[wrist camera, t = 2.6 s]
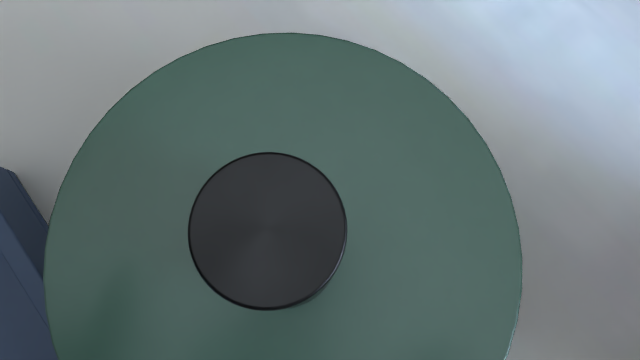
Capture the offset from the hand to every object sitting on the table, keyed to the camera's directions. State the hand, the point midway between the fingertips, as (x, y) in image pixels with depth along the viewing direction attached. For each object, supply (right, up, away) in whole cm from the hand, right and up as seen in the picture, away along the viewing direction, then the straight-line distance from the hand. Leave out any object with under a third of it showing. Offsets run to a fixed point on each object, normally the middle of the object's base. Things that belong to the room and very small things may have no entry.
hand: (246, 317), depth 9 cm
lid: (0, 0, +5) cm, 5 cm away
